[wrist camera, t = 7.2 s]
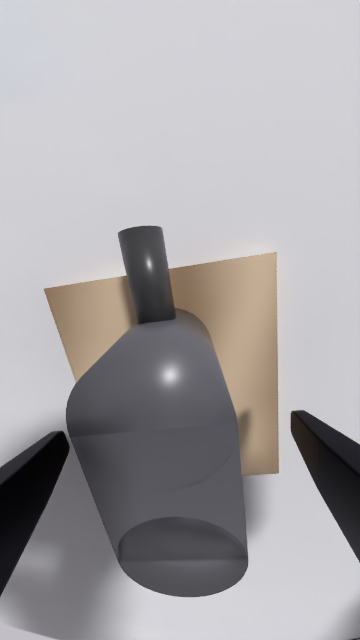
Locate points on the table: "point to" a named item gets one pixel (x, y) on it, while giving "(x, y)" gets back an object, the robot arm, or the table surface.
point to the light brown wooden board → (222, 323)
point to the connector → (162, 440)
